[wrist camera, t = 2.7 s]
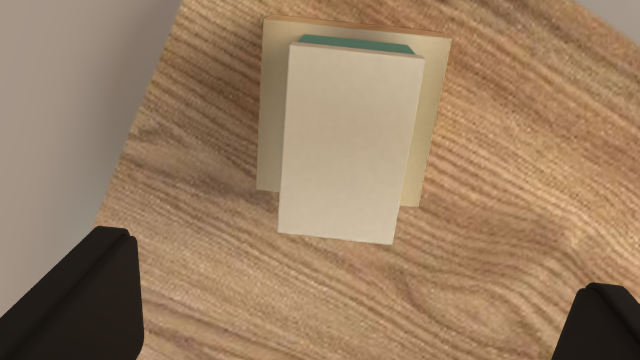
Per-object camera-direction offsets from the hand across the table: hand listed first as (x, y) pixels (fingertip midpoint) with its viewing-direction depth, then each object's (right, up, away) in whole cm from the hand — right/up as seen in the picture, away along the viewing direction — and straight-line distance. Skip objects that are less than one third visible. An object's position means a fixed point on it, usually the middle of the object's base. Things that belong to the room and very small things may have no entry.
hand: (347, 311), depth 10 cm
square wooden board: (+1, +7, +16) cm, 18 cm away
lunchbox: (+1, +6, +14) cm, 15 cm away
